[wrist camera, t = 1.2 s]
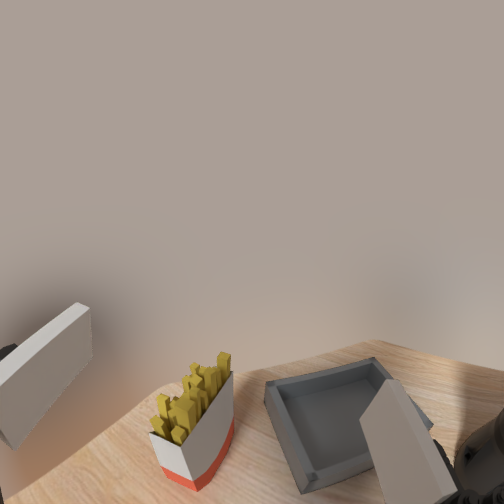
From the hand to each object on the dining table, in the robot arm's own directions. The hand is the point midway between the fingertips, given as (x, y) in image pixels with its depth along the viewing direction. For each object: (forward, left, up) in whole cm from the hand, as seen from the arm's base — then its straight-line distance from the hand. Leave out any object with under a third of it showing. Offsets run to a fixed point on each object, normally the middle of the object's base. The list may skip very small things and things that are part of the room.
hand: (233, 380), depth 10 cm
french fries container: (+3, -10, -28) cm, 29 cm away
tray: (-18, -11, -27) cm, 35 cm away
